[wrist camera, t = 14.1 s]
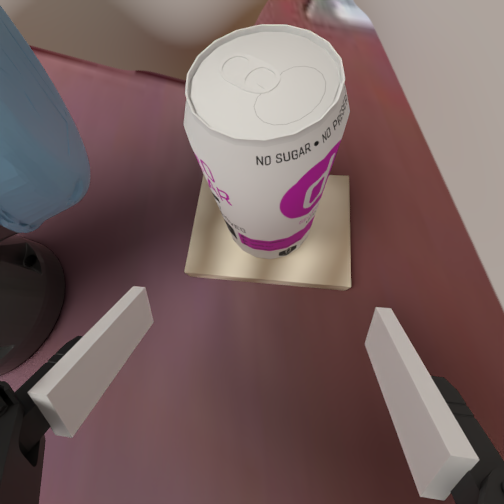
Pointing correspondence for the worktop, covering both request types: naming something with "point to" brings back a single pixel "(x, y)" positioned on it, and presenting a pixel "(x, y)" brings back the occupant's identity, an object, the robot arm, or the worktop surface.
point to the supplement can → (267, 130)
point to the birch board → (283, 268)
